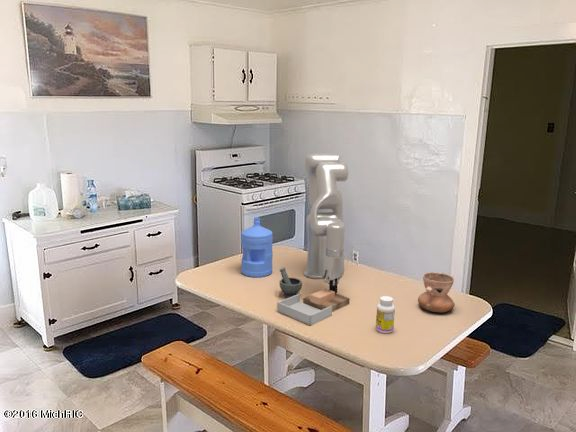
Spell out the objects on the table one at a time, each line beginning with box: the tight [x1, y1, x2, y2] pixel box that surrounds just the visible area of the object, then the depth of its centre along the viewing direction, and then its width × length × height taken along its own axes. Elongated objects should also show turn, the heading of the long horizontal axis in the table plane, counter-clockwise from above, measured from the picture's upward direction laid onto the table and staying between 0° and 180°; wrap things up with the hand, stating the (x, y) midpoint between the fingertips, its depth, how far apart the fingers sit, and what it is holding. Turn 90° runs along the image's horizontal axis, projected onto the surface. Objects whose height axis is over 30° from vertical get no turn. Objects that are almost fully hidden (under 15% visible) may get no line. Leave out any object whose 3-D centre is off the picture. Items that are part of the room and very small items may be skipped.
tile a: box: [318, 288, 335, 301], centre depth 207 cm, size 5×5×3 cm
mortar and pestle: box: [279, 267, 303, 299], centre depth 214 cm, size 11×9×12 cm
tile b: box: [310, 291, 327, 305], centre depth 203 cm, size 5×5×3 cm
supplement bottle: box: [375, 295, 396, 334], centre depth 183 cm, size 7×7×13 cm
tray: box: [276, 293, 333, 326], centre depth 198 cm, size 13×18×4 cm
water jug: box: [240, 216, 274, 278], centre depth 241 cm, size 16×16×28 cm
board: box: [302, 293, 351, 313], centre depth 208 cm, size 14×14×2 cm
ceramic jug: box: [417, 271, 455, 313], centre depth 204 cm, size 18×14×14 cm
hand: (333, 292), depth 210 cm, fingers closed
